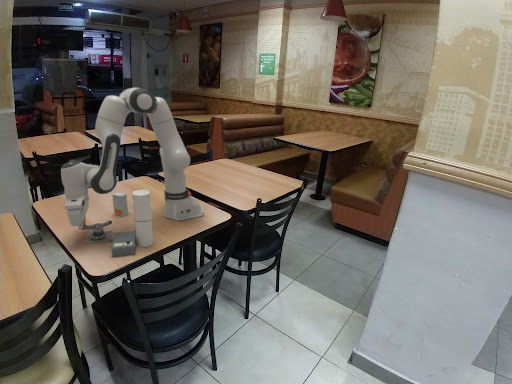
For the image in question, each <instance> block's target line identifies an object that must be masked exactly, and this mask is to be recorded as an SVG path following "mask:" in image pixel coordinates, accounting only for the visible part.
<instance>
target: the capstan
mask: <svg viewBox="0 0 512 384" xmlns="http://www.w3.org/2000/svg"><path fill="white" fill-rule="evenodd" d="M86 222H87V221H86ZM86 222H85V217H84V219H83V221H82V224H83V226H84V227H83V229H80V230H81V231H84V230H92V232H93V233H92V234H91V235H90V239H92V240H100V239H103V238H105V236H106V234H105V232H104V231H105V230H104V228H105V227H108V226H110V225H113V224H112V223H113V221H112V220H107V221H105V222H103V223H100V222H99V223H94V224H92V225H91V224H90V225H89V224H87V223H86Z"/></svg>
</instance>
